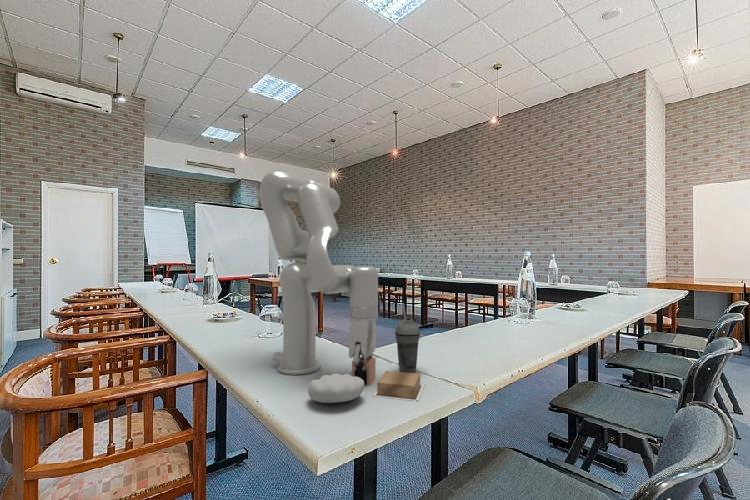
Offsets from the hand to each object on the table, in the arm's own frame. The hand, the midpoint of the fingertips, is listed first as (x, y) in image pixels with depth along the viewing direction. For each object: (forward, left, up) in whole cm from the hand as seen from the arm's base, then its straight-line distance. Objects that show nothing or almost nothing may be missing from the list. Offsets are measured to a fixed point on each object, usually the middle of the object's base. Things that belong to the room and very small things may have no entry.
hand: (363, 380), depth 95 cm
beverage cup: (+10, +10, -1) cm, 14 cm away
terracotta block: (0, 0, -1) cm, 1 cm away
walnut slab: (+10, -4, 0) cm, 11 cm away
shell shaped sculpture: (-2, -14, -1) cm, 14 cm away
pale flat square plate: (+10, -4, -1) cm, 11 cm away
